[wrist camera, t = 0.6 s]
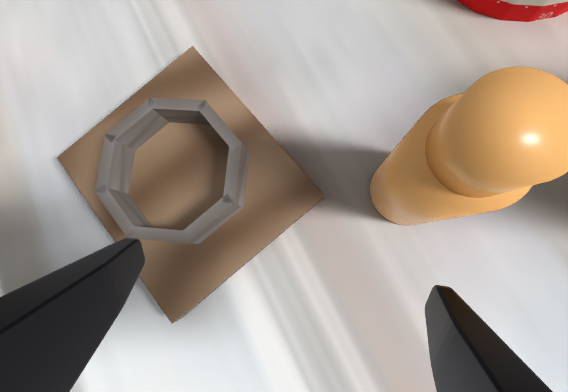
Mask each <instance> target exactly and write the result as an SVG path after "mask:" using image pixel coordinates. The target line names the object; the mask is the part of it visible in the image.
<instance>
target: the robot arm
mask: <svg viewBox="0 0 568 392" xmlns="http://www.w3.org/2000/svg"><path fill="white" fill-rule="evenodd" d="M144 264H145V256H144V252H143V248H142V244H141V241H140V240H139V239H135V238H124V239H122V240H120V241H118V242H115V243H113V244H111V245H109V246H107V247H105V248H103V249H101V250H99V251H97V252H94V253H92V254H90V255H88V256H86V257H84V258H82V259H80V260H78V261H75V262H73V263H71V264H69V265H67V266H65V267H63V268H61V269H59V270H57V271H54V272H52V273H50V274H48V275H46V276H44V277H42V278H40V279H38V280H35V281H33V282H31V283H29V284H27V285H25V286H23V287H21V288H19V289H16V290H14V291H12V292H10V293H8V294H6V295H4V296H2V297H0V392H70V390H71V389H72V387H73V385H74V384H75V382H76V381H77V379H78V378H79V376H80V374H81V373H82V371H83V370H84V368H85V367H86V365H87V363H88V362H89V360H90V359H91V357H92V355H93V354H94V352H95V351H96V349H97V348H98V346H99V344H100V343H101V341H102V340H103V338H104V337H105V335H106V333H107V332H108V330H109V329H110V327H111V325H112V324H113V322H114V321H115V319H116V318H117V316H118V314H119V313H120V311H121V309H122V308H123V306H124V304H125V302H126V300H127V298H128V296H129V294H130V292H131V290H132V288H133V286H134V284H135V282H136V280H137V278H138V276H139V274H140V272H141V270H142V268H143V266H144ZM425 317H426V326H427V335H428V344H429V353H430V361H431V367H432V372H433V377H434V381H435V386H436V390H437V392H552V391H551V390H550V389H549V387H548V386H547V385H546V384H545V383H544V382H543V381H542V380H541V379H540V378H539V377H538V376H537V375H536V374H535V373H534V372H533V371H532V370H531V369H530V368H529V367H528V366H527V365H526V364H525V363H524V362H523V361H522V360H521V359H520V358H519V357H518V356H517V355H516V354H515V353H514V352H513V351H512V350H511V349H510V348H509V347H508V346H507V344H506V343H505V342H504V341H503V340H502V339H501V338H500V337H499V336H498V335H497V334H496V333H495V332H494V331H493V330H492V329H491V328H490V327H489V326H488V325H487V324H486V323H485V322H484V321H483V320H482V319H481V318H480V317H479V316H478V315H477V314H476V313H475V312H474V311H473V310H472V309H471V308H470V307H469V306H468V305H467V304H466V303H465V301H464V300H463V299H462V298H461V297H460V296H459V295H458V294H457V293H456V292H455V291H454V290H453V289H452V288H450V287H447V286H440V285H435V286H434V287H433V288H432V290H431V293H430V295H429V297H428V300H427V302H426V305H425Z"/></svg>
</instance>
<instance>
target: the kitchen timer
mask: <svg viewBox="0 0 568 392" xmlns="http://www.w3.org/2000/svg"><path fill="white" fill-rule="evenodd" d="M457 1H459V2H460V3H462V4H464V5H465V6H467V7H468V8H470V9H471V10H473V11H475V12H477V13H480V14H483V15H486V16H489V17H493V18H496V19H499V20H508V21H523V22H530V21H535V20H541V19H546V18H552V17H556V16H558V15H560V14H562V13H565V12H567V11H568V0H457Z"/></svg>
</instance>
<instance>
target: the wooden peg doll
mask: <svg viewBox="0 0 568 392" xmlns="http://www.w3.org/2000/svg"><path fill="white" fill-rule="evenodd" d="M567 172H568V84H566V83H565V82H564V81H562V80H561V79H559V78H558V77H556V76H554V75H552V74H550V73H548V72H545V71H542V70H539V69H534V68H529V67H510V68H503V69H500V70H496V71H494V72H491V73H489V74H487V75H485V76H483V77H482V78H480V79H479V80H478V81H476V82H475V83H474V84H473V85H472V86H471V87H470V88H469V89H468V90H467V91H466V92H465V93H464V94H458V95H454V96H450V97H448V98H445V99H443V100H441V101H439V102H438V103H436V104H435V105H433V106H432V107H430V108H429V109H428V110H427V111H426V112H425V113H424V114H423V116H422V117H421V118H420V119H419V120H418V121H417V123H416V124H415V125H414V126H413V127H412V129H411V130H410V131H409V132H408V133H407V134H406V136H405V137H404V138H403V139H402V140H401V141H400V143H399V144H398V145H397V146H396V147H395V149H394V150H393V151H392V152H391V153H390V154H389V156H388V157H387V158H386V159H385V160H384V162H383V163H382V164H381V165H380V166H379V167H378V169H377V170H376V171H375V173H374V175H373V177H372V179H371V183H370V196H371V200H372V202H373V205H374V206H375V208H376V210H377V211H378V212H379V213H380V214H381V215H382V216H383V217H384V218H386V219H387V220H389V221H391V222H393V223H396V224H399V225H416V224H422V223H427V222H433V221H439V220H445V219H451V218H456V217H462V216H468V215H474V214H479V213H485V212H491V211H495V210H500V209H502V208H505V207H508V206H510V205H511V204H513V203H515V202H517V201H518V200H519V199H521V198H522V197H523V196H524V195H525V194H526V193H527V192H528V191H529V190H530V188H531V187H532V186H533V185H536V184H540V183H544V182H548V181H551V180H554V179H556V178H558V177H560V176H562V175H564V174H565V173H567Z"/></svg>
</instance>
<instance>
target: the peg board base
mask: <svg viewBox="0 0 568 392" xmlns="http://www.w3.org/2000/svg"><path fill="white" fill-rule="evenodd" d="M57 158H58V160H59V161H60V163H61V164H62V166H63V167H64V168H65V170H66V171H67V173H68V174H69V176H70V177H71V179H72V180H73V181H74V183H75V184H76V186H77V187H78V189H79V190H80V192H81V193H82V194H83V196H84V197H85V199H86V200H87V202H88V203H89V205H90V206H91V207H92V209H93V210H94V212H95V213H96V215H97V216H98V218H99V219H100V220H101V222H102V223H103V225H104V226H105V228H106V229H107V231H108V232H109V233H110V235H111V236H112V238H113V239H114V241H115V242H118V241H120V240H122V239H124V238H135V239H139V240H140V241H141V244H142V248H143V252H144V256H145V264H144V266H143V268H142V270H141V272H140V274H139V277H140V278H141V280H142V281H143V282H144V284H145V285H146V287H147V288H148V290H149V291H150V293H151V294H152V295H153V297H154V298H155V300H156V301H157V303H158V304H159V306H160V307H161V308H162V310H163V311H164V313H165V314H166V316H167V317H168V319H169V320H170V321H171V323H174V322H175V321H177V320H179V319H181V318H182V317H183V316H184V315H186V314H187V313H188V312H189V311H190V310H192V309H193V308H194V307H195V306H196V305H197V304H199V303H200V302H201V301H202V300H203V299H205V298H206V297H207V296H208V295H209V294H210V293H212V292H213V291H214V290H215V289H216V288H218V287H219V286H220V285H221V284H222V283H223V282H225V281H226V280H227V279H228V278H229V277H231V276H232V275H233V274H234V273H235V272H236V271H238V270H239V269H240V268H241V267H242V266H244V265H245V264H246V263H247V262H248V261H250V260H251V259H252V258H253V257H254V256H255V255H257V254H258V253H259V252H260V251H261V250H263V249H264V248H265V247H266V246H267V245H268V244H270V243H271V242H272V241H273V240H274V239H276V238H277V237H278V236H279V235H280V234H281V233H283V232H284V231H285V230H286V229H287V228H289V227H290V226H291V225H292V224H293V223H294V222H296V221H297V220H298V219H299V218H300V217H302V216H303V215H304V214H305V213H306V212H308V211H309V210H310V209H311V208H312V207H313V206H315V205H316V204H317V203H318V202H319V201H321V200H322V199H323V197H324V195H323V194H322V193H321V191H320V190H319V189H318V188H317V187H316V186H315V185H314V183H313V182H312V181H311V180H310V179H309V178H308V177H307V175H306V174H305V173H304V172H303V171H302V170H301V169H300V167H299V166H298V165H297V164H296V163H295V162H294V161H293V160H292V158H291V157H290V156H289V155H288V154H287V153H286V152H285V150H284V149H283V148H282V147H281V146H280V145H279V144H278V142H277V141H276V140H275V139H274V138H273V137H272V136H271V135H270V133H269V132H268V131H267V130H266V129H265V128H264V127H263V125H262V124H261V123H260V122H259V121H258V120H257V119H256V117H255V116H254V115H253V114H252V113H251V112H250V111H249V109H248V108H247V107H246V106H245V105H244V104H243V103H242V102H241V100H240V99H239V98H238V97H237V96H236V95H235V94H234V92H233V91H232V90H231V89H230V88H229V87H228V86H227V84H226V83H225V82H224V81H223V80H222V79H221V78H220V76H219V75H218V74H217V73H216V72H215V71H214V70H213V69H212V67H211V66H210V65H209V64H208V63H207V62H206V61H205V59H204V58H203V57H202V56H201V55H200V54H199V53H198V51H197V50H196V49H195V48H194V47H193V46H192V47H191V48H189V49H188V50H187V51H186V52H185V53H183V54H182V55H181V56H180V57H178V58H177V59H176V60H175V61H174V62H172V63H171V64H170V65H169V66H168V67H166V68H165V69H164V70H163V71H162V72H160V73H159V74H158V75H157V76H155V77H154V78H153V79H152V80H151V81H149V82H148V83H147V84H146V85H145V86H143V87H142V88H141V89H140V90H138V91H137V92H136V93H135V94H134V95H132V96H131V97H130V98H129V99H128V100H126V101H125V102H124V103H123V104H121V105H120V106H119V107H118V108H117V109H115V110H114V111H113V112H112V113H111V114H109V115H108V116H107V117H106V118H104V119H103V120H102V121H101V122H100V123H98V124H97V125H96V126H95V127H94V128H92V129H91V130H90V131H89V132H87V133H86V134H85V135H84V136H83V137H81V138H80V139H79V140H78V141H77V142H75V143H74V144H73V145H72V146H70V147H69V148H68V149H67V150H66V151H64V152H63V153H62V154H61V155H60V156H58V157H57Z"/></svg>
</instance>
